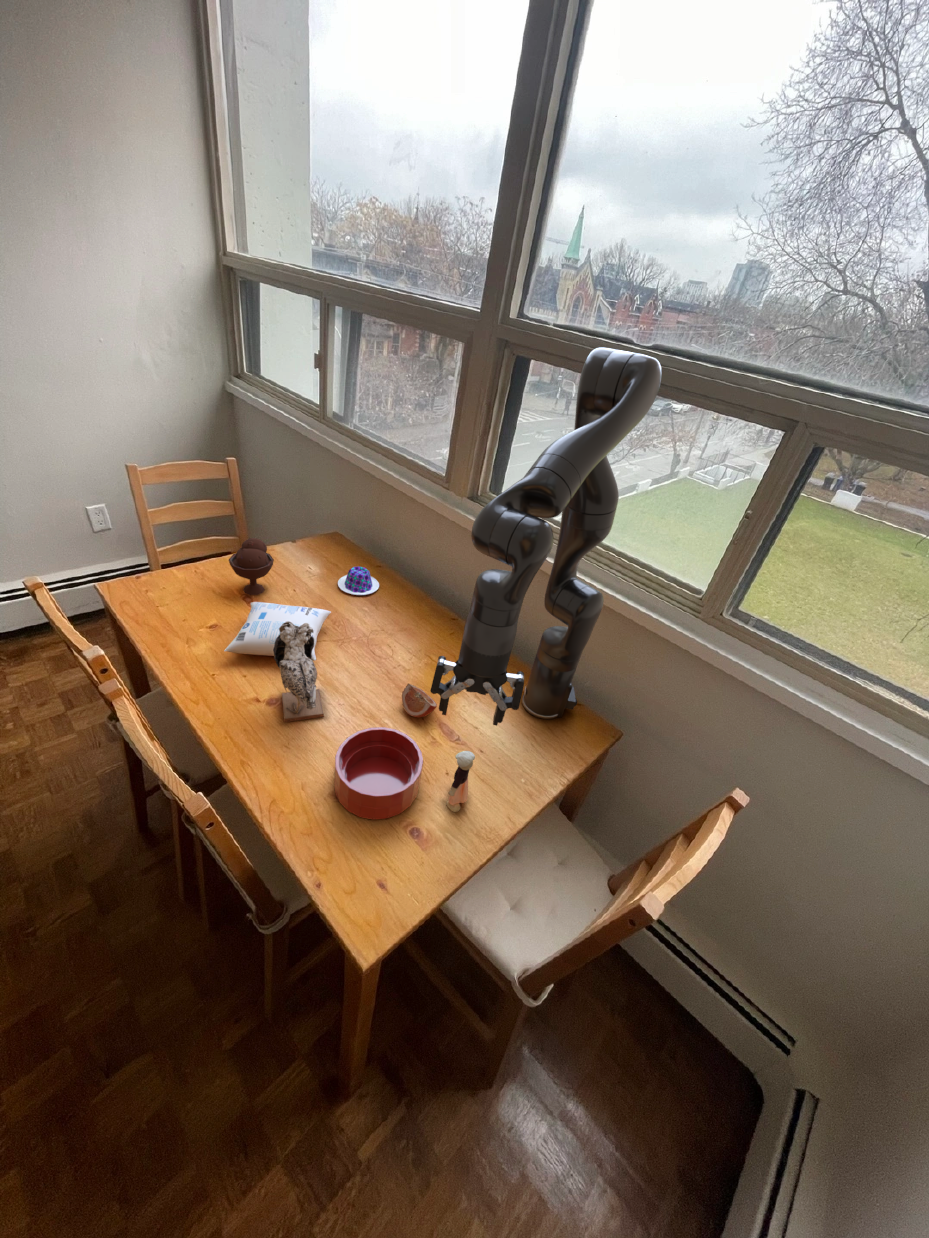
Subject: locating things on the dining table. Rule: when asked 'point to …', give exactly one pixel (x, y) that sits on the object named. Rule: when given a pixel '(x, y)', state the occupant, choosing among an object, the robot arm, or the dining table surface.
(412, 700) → the fruit slice
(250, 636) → the pouch
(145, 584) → the dining table surface
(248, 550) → the ice cream bowl
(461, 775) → the grandmother figurine
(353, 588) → the pudding
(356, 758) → the red bowl
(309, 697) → the stuffed bird
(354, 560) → the dining table surface
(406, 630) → the dining table surface
